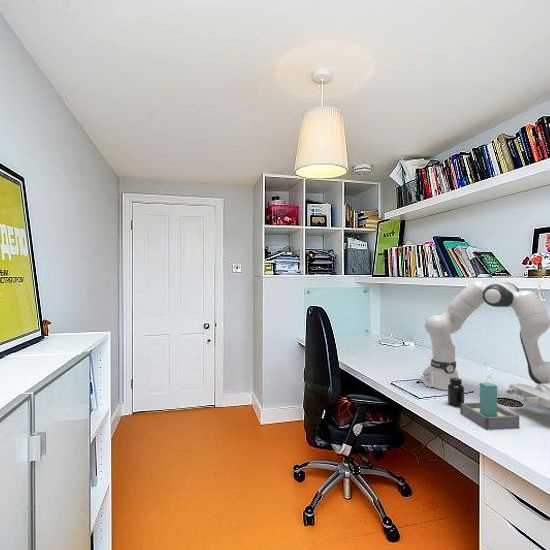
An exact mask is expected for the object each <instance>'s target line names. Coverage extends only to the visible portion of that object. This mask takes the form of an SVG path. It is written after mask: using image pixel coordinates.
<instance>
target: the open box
mask: <svg viewBox="0 0 550 550" xmlns="http://www.w3.org/2000/svg"><path fill="white" fill-rule="evenodd" d="M459 409H460V411H459V413H460V415H462V416H464V417H465V418H467V419H468V420H470V421H472V423H473V422H474V423H475V424H476V425H477V426H480V427H481V428H483V429H485V430H486V431H487V430H488V429H489V430H504V429H507V430H508V428H509V429H520V416H519V415H517V414H515V413H513V412H511V411H510V410H508V409H505V408H503V407H501V406H499V405H497V417H486V416H484V415H483V414H481V413H480V401H479V402H464V403H460V407H459Z"/></svg>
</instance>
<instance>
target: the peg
mask: <svg viewBox="0 0 550 550" xmlns="http://www.w3.org/2000/svg"><path fill="white" fill-rule="evenodd" d="M479 402H480V413H481V414H483V415H484V416H486V417H497V406H498V385H497V384H494V383H491V382H480V383H479Z"/></svg>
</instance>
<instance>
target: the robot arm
mask: <svg viewBox="0 0 550 550" xmlns="http://www.w3.org/2000/svg"><path fill="white" fill-rule="evenodd" d="M484 303H485V304H487V305H488V306H490V307H495V308H497V307H498V308H509V307H510V308H511V309H513V311H514V313H515V316H516V317H517V319H518V322H519V326H520V331H519V338H520V343H521V345H522V349H523V352H524V353H523V354H524V356H525V359H526V363H527V371H528V375H529V378H530V380H532V382H534V383H535V384H536V385H535V387H533V386H531V385H528V384H523V383H510V384H509V388H508V389H507V390H506V394H508V395H516V396H519V397H521V398H523V399H524V402H527V403H531V404H532V403H533V404H537V405H540V406H542V407H544V408H547V409H550V361H544V360H543V358H542V354H541V352H540V348H539V344H538V342H539V341H538V340H539V338H540V337H541V336H543V335H544V334H545V333H546V332H547V331H548V329H549V328H550V317H549V314H548V312H547V311H546V309H545V307H544V305H543V303H542V301H541V300H540V298H539V297H538V296H537V294H536V293H535V292H533V291H532V290H519V288H518V287H517V285H515V284H513V283H511V282H496V283H493V284H492V283H491V284H489V285H488V284H487V283H485V282H484V281H480V280H474V281H473V282H471V283H469V284H468V285H467V286H465V287H464V288H463V289H462V290H461V291H460V292H459V293H458V294H457V295H455V297H454V298H453V299H452V300H451V301H450V302H449V305H448V307H447V309H446V310H445V312H443V313H441V314H434V315H432V316H430V317H428V318H427V319H426V320H425V322H424V329H425V331H426V332H427V333H428V334H429V337H430V341H431V344H432V345H431V346H432V347H431V348H432V358H430V359H429V360H430V364H429V366H427V367H426V368H425V369H424V370H423V372H422V375H423V376H421V377H418V380H419V381H420V380H421V381H422V382H423V383H424V384H423V383H422V382H421V381H420V382H421V383H422V384H423V385H424V386H426V387H427V386H428V387H427V388H430V387H434V388H433V389H436V388H438V389H437V390H441V389H442V390H443V391H448V385H449V384H450V378H459V372H458V370H457V361H456V346H455V345H454V343H453V342H452V338H451V334H455V333H457V332H458V331H460V330H462V327H463V325H464V323H465V322H466V320H468V318H469V317H470V316H471V315H472V314H473V313H475V311H477V309H479V308H480V307H481V305H483V304H484Z"/></svg>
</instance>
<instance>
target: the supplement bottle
mask: <svg viewBox="0 0 550 550" xmlns="http://www.w3.org/2000/svg"><path fill="white" fill-rule="evenodd" d="M462 382H463V381H462V379H461V378H459V377H458V378H450V384H449V385H448V390H447V404H448V406H451V407H454V408H460V403H465V387H464V385H462V384H463V383H462Z"/></svg>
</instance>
